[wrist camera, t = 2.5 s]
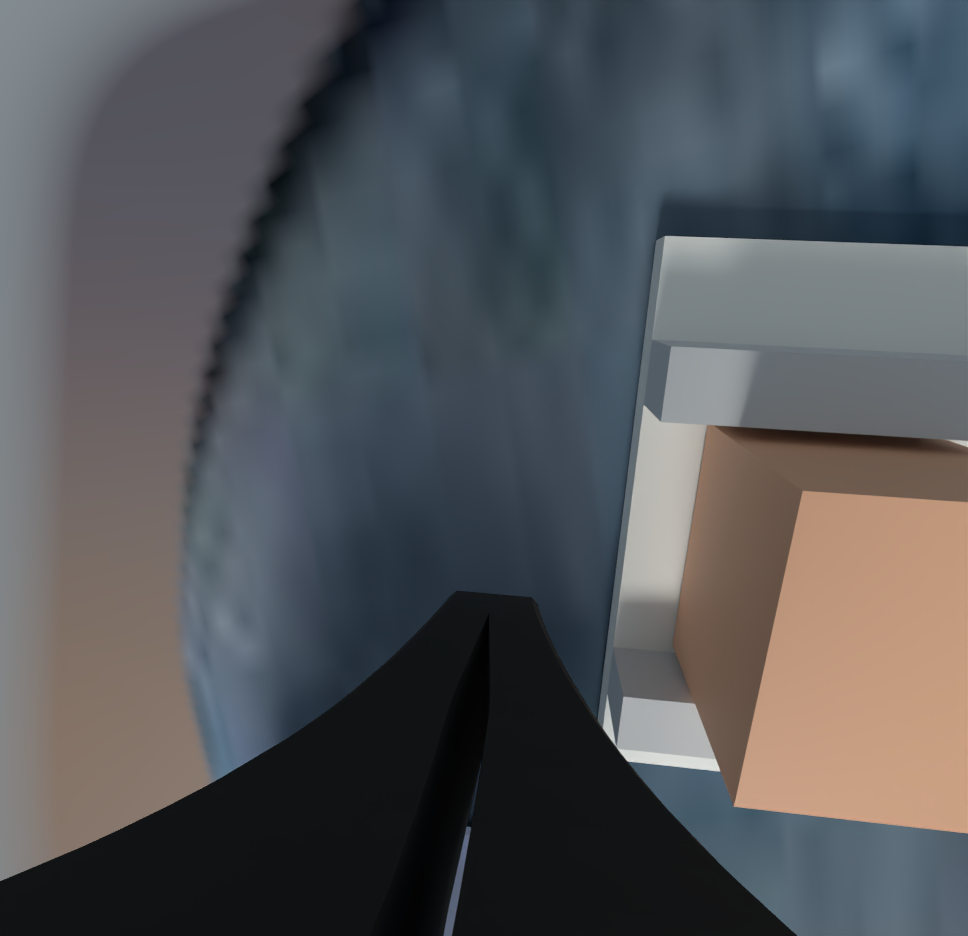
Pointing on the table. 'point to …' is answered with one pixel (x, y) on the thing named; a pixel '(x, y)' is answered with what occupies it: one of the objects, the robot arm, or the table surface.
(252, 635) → the table surface
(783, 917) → the table surface
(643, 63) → the table surface
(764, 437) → the block
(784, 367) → the chute
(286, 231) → the table surface
